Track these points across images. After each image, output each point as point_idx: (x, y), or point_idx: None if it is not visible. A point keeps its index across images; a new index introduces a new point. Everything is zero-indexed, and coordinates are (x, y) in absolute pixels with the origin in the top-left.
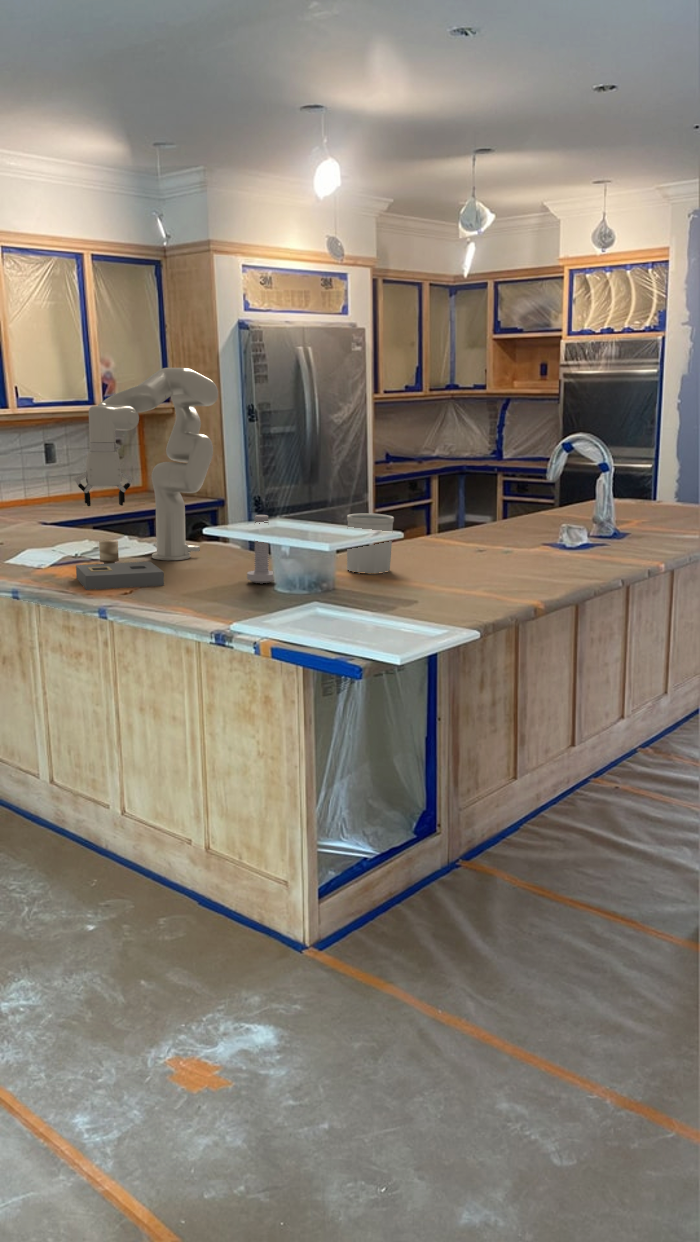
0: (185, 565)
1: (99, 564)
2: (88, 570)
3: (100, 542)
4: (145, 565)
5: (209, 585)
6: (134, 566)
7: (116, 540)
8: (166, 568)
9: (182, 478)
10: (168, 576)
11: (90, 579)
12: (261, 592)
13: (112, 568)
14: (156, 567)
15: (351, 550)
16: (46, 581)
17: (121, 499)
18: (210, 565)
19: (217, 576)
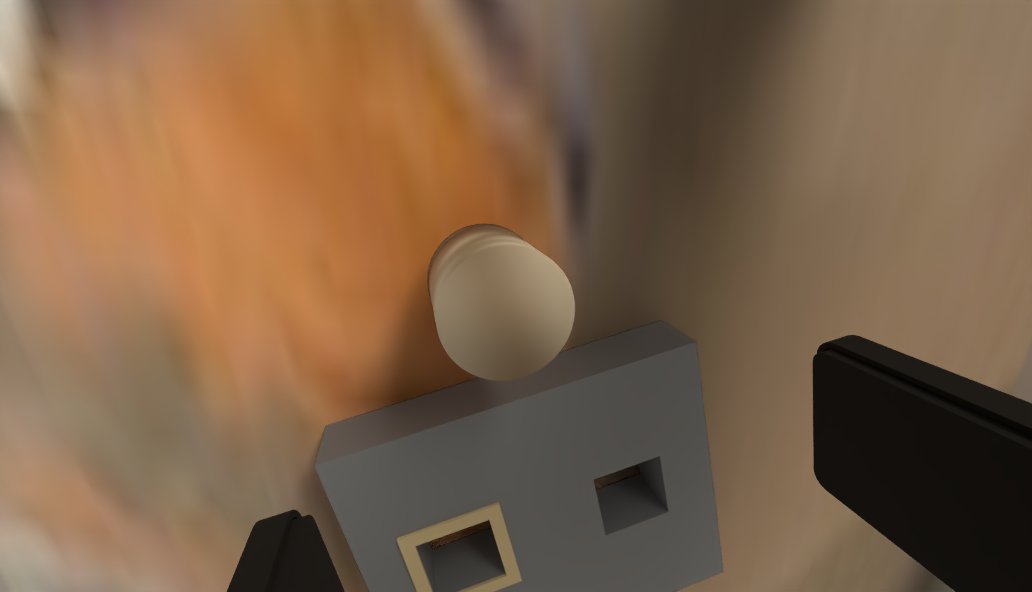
0: (840, 84)
1: (444, 440)
2: (408, 589)
3: (450, 356)
4: (666, 448)
5: (829, 513)
6: (617, 470)
7: (564, 276)
8: (745, 166)
9: None
10: (727, 364)
11: None
12: (932, 587)
13: (518, 531)
14: (707, 489)
15: None
16: (184, 501)
17: (913, 550)
18: (938, 96)
19: None
